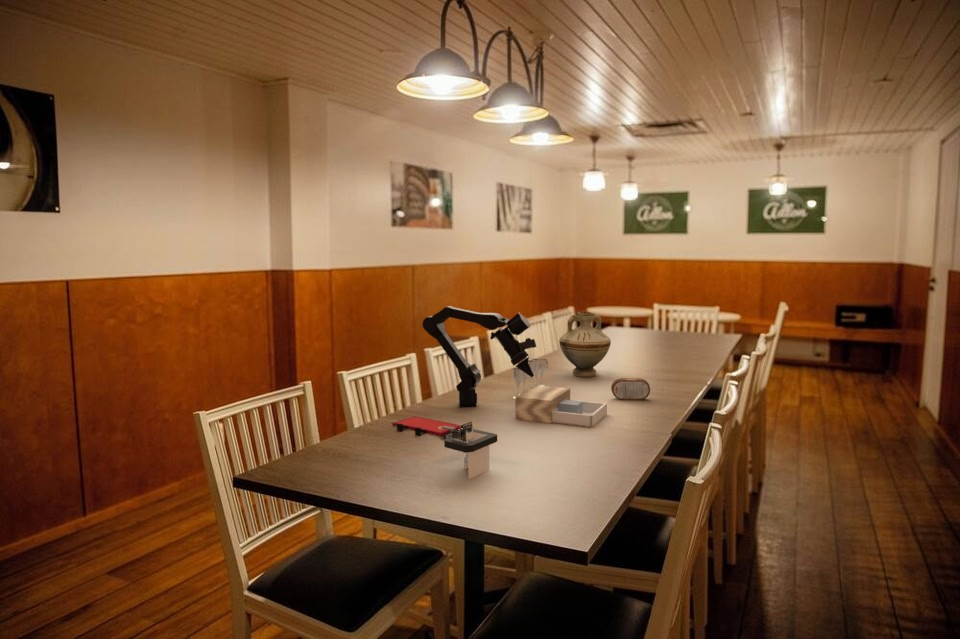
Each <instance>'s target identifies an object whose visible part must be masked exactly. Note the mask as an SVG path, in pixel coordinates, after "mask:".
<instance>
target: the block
mask: <svg viewBox="0 0 960 639" xmlns="http://www.w3.org/2000/svg"><path fill="white" fill-rule="evenodd" d="M574 400H575V399H570V400H565V399H564V400H563V401H561V402H559V403H558V411H559V412H567V413H576V414H583V401H584V400H577V401H574Z"/></svg>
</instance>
